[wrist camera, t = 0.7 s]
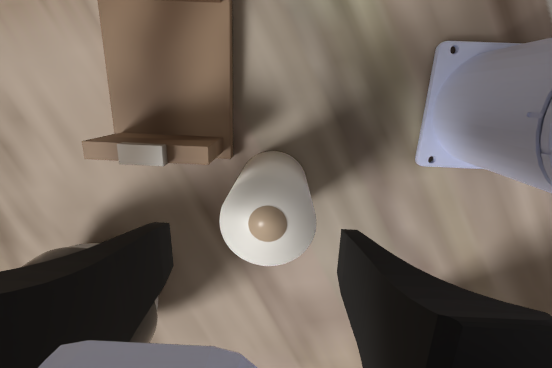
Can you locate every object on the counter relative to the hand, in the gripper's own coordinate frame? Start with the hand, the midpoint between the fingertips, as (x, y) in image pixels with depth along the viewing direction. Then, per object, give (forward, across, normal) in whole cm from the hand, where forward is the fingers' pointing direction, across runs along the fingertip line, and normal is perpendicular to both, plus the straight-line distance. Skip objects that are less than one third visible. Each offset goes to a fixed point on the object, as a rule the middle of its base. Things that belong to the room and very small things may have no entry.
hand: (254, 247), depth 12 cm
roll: (+10, 0, 0) cm, 10 cm away
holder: (+10, +6, -7) cm, 14 cm away
